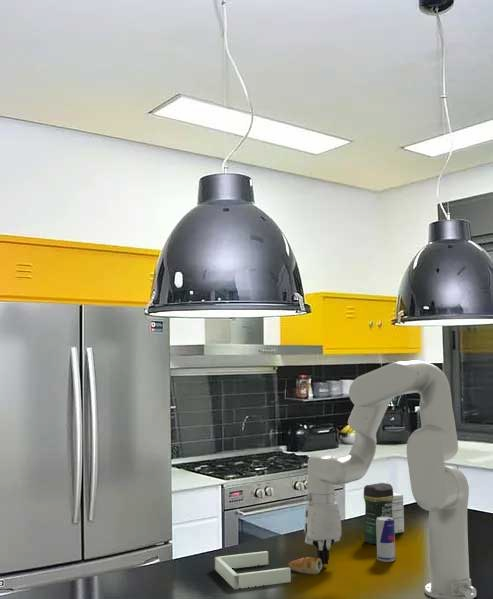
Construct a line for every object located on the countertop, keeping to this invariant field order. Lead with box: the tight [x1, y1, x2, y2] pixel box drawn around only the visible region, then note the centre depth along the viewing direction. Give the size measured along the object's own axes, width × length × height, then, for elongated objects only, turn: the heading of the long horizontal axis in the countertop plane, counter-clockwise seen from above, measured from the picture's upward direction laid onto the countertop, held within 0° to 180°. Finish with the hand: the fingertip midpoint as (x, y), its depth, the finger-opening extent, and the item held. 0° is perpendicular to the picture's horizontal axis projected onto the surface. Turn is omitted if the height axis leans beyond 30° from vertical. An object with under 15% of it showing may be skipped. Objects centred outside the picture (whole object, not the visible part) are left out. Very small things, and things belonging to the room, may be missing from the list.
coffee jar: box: [363, 482, 394, 545], centre depth 230 cm, size 10×8×19 cm
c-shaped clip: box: [214, 550, 292, 590], centre depth 197 cm, size 18×16×4 cm
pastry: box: [288, 556, 323, 575], centre depth 201 cm, size 9×7×4 cm
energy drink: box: [376, 516, 397, 563], centre depth 210 cm, size 5×5×12 cm
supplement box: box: [392, 491, 405, 534], centre depth 243 cm, size 7×7×13 cm
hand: (323, 562), depth 204 cm, fingers closed
